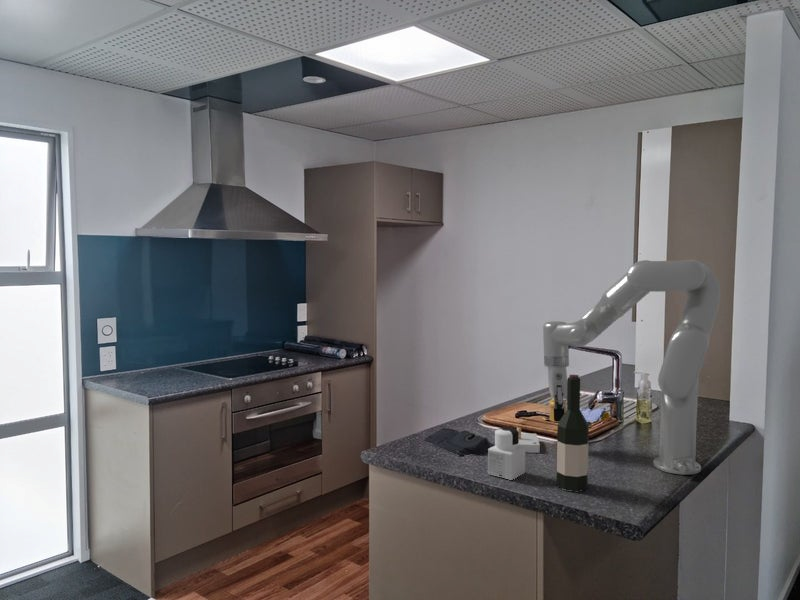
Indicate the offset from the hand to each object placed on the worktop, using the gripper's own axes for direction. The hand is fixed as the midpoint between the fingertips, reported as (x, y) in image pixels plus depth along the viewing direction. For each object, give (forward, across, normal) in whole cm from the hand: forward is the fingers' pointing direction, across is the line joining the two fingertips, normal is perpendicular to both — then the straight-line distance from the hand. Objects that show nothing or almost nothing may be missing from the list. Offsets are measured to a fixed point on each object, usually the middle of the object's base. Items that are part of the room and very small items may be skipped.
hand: (558, 417), depth 196 cm
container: (+10, -24, +17) cm, 31 cm away
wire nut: (+1, 0, 0) cm, 1 cm away
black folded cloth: (+10, +2, +32) cm, 33 cm away
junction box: (+10, +6, +12) cm, 17 cm away
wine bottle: (+11, -30, 0) cm, 32 cm away
